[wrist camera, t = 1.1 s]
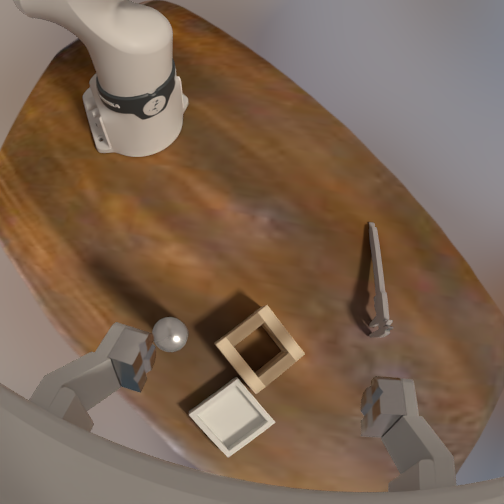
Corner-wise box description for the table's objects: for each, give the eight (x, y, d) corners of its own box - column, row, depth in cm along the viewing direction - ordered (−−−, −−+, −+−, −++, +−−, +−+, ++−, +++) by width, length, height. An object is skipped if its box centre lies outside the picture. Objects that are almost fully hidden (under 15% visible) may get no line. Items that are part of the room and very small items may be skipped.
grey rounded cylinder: (159, 329, 46) (145, 330, 31) (178, 315, 47) (173, 310, 32) (174, 349, 45) (166, 358, 31) (193, 335, 46) (194, 338, 32)
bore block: (213, 343, 47) (215, 344, 43) (261, 306, 49) (267, 304, 45) (250, 389, 46) (256, 394, 42) (296, 352, 48) (305, 353, 45)
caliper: (373, 337, 52) (393, 337, 46) (367, 337, 51) (388, 337, 45) (372, 223, 57) (391, 212, 51) (367, 222, 56) (385, 210, 50)
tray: (188, 411, 43) (188, 414, 41) (236, 376, 46) (238, 378, 44) (226, 452, 43) (228, 457, 41) (272, 418, 45) (275, 422, 43)
